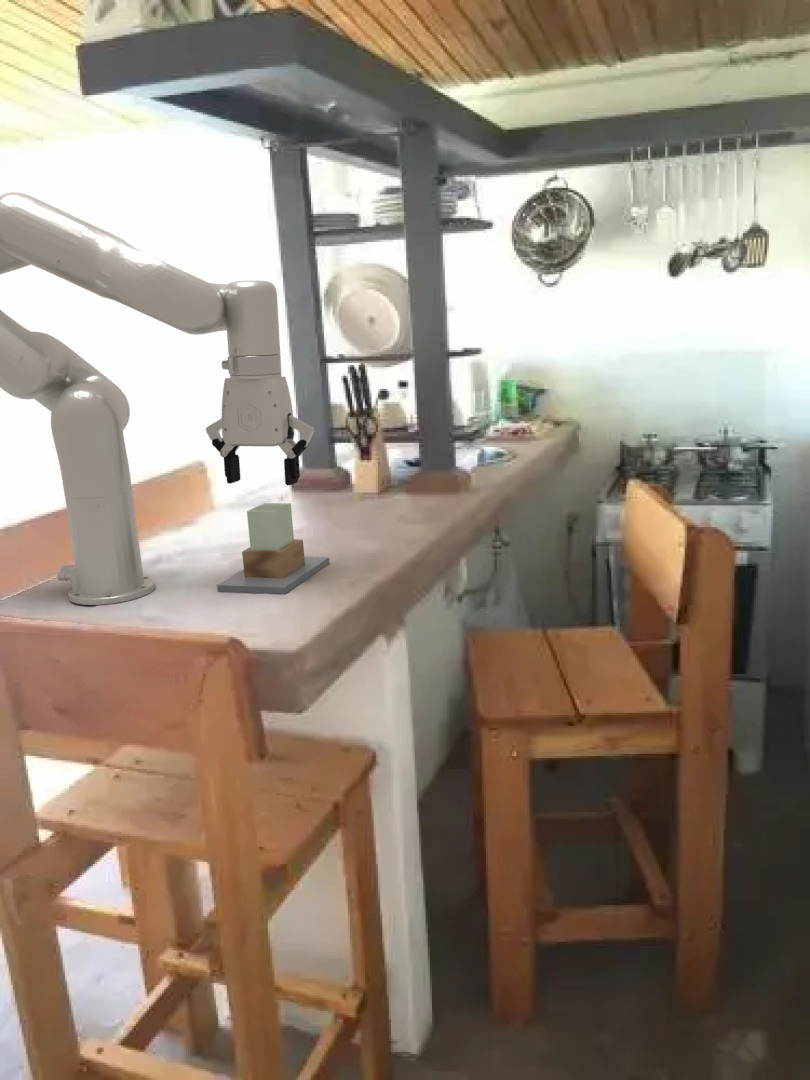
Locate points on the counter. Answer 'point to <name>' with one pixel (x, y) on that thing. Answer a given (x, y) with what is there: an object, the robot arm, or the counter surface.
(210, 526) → the counter surface
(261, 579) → the slate baseplate
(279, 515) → the sage block
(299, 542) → the walnut base block
